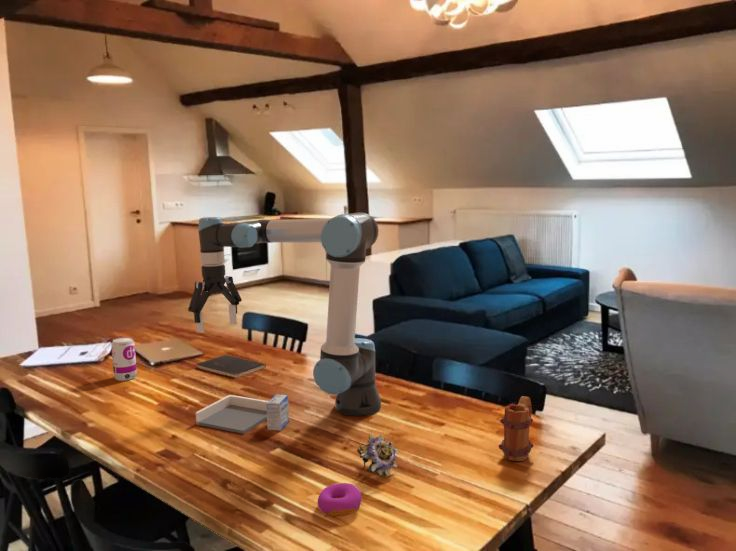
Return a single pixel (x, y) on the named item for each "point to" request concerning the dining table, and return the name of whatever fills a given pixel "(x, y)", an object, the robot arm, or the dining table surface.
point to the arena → (233, 414)
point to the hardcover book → (231, 366)
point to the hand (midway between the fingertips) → (217, 328)
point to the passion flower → (379, 455)
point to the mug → (517, 430)
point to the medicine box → (277, 412)
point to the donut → (339, 499)
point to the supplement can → (124, 359)
